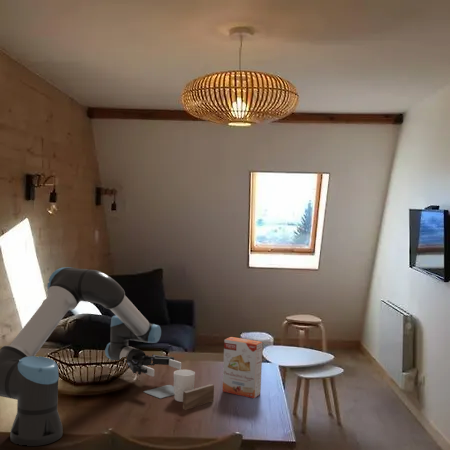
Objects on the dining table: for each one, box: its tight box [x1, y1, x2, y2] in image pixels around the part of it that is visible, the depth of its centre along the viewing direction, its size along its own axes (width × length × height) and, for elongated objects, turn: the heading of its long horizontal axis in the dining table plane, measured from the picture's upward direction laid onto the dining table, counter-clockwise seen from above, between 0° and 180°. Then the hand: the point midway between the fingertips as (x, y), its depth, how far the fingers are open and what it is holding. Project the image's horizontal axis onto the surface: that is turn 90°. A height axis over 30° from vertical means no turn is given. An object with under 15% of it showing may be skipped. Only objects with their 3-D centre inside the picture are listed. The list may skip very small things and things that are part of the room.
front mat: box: [143, 384, 174, 400], centre depth 220 cm, size 10×13×1 cm
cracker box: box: [221, 336, 263, 399], centre depth 221 cm, size 14×6×21 cm, turn 62°
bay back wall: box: [182, 383, 215, 411], centre depth 207 cm, size 2×14×6 cm, turn 137°
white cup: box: [173, 368, 196, 403], centre depth 212 cm, size 8×8×10 cm
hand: (167, 369), depth 219 cm, fingers open, 13 cm apart
